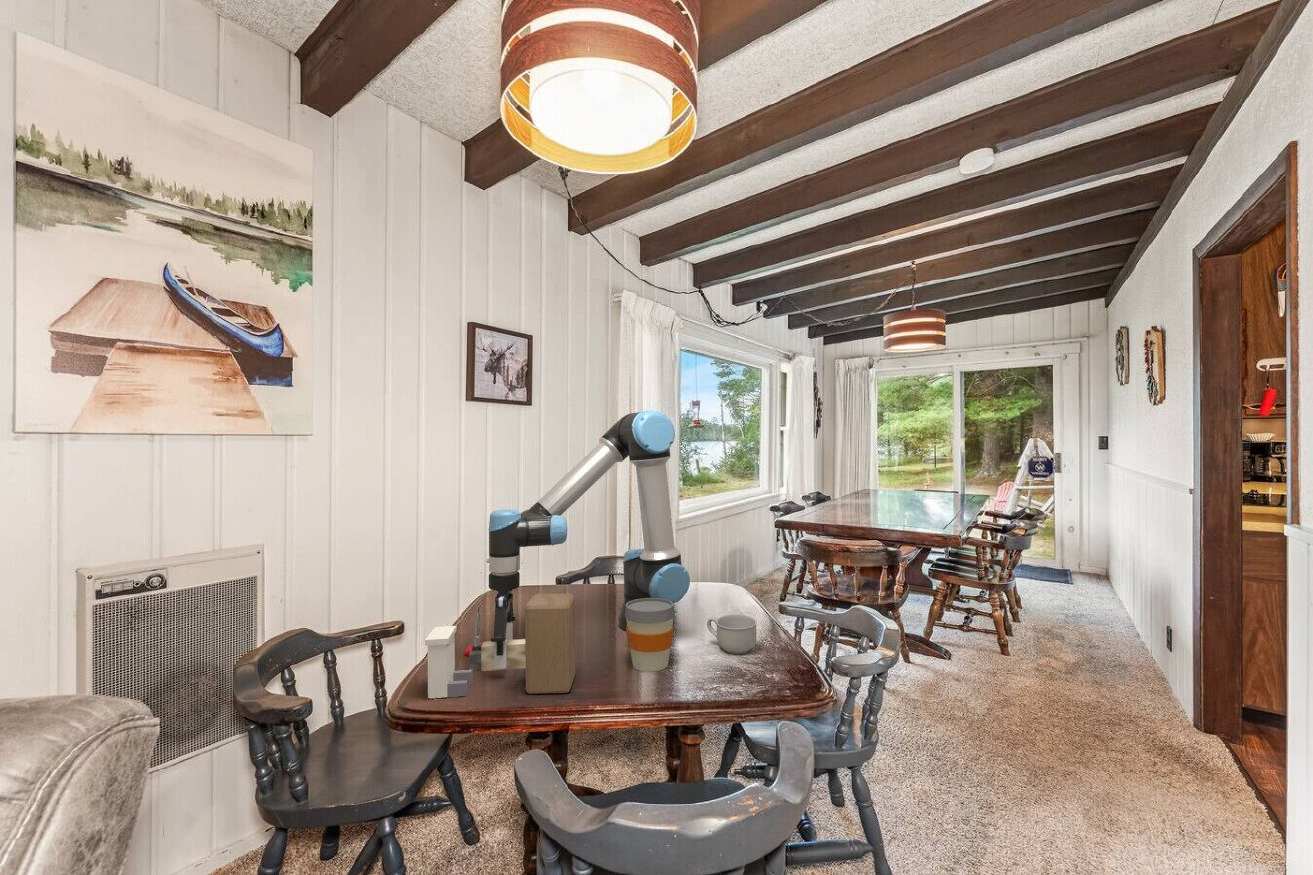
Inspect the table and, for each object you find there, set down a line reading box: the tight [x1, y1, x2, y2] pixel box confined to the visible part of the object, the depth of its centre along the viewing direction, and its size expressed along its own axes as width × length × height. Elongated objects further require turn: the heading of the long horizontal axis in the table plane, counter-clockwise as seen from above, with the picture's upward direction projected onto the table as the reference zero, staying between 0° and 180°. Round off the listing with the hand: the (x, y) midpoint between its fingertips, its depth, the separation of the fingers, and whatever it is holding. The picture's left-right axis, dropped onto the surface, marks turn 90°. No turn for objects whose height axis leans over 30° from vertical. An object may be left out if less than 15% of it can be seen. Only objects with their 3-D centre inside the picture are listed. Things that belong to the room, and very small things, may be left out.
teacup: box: [706, 613, 758, 655], centre depth 151 cm, size 14×11×8 cm
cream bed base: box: [424, 625, 473, 699], centre depth 127 cm, size 8×9×13 cm
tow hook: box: [463, 605, 483, 656], centre depth 152 cm, size 8×13×9 cm
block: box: [524, 592, 576, 695], centre depth 129 cm, size 10×10×20 cm
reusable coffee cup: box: [625, 598, 676, 673], centre depth 141 cm, size 13×13×15 cm
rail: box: [468, 638, 526, 672], centre depth 140 cm, size 14×4×6 cm, turn 98°
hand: (503, 657), depth 140 cm, fingers open, 13 cm apart
